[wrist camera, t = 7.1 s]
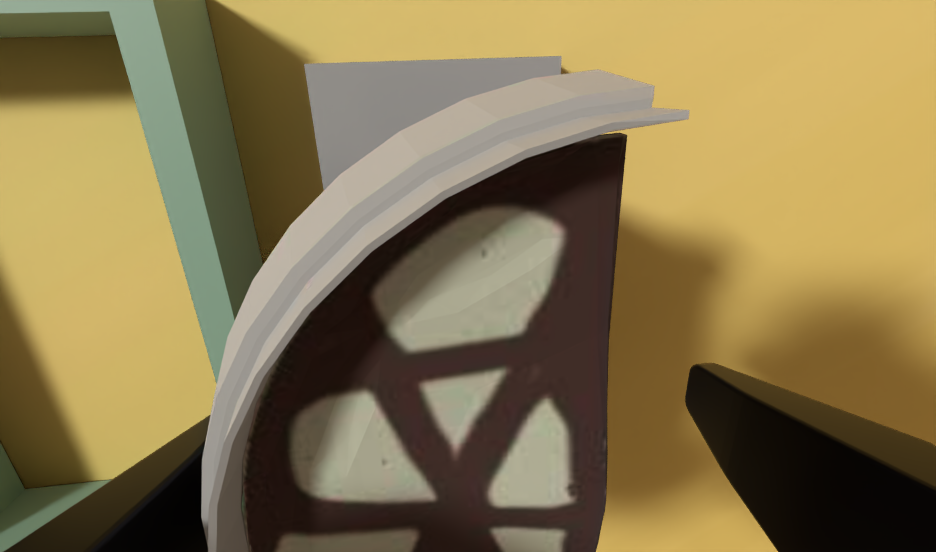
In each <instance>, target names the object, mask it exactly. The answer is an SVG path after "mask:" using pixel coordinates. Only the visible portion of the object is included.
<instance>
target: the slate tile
mask: <svg viewBox="0 0 936 552" xmlns="http://www.w3.org/2000/svg"><path fill="white" fill-rule="evenodd" d="M304 67H305V74H306V80H307V87H308V93H309V100H310V106H311V112H312V119H313V125H314V132H315V138H316V144H317V151H318V157H319V164H320V170H321V176H322V183H323V189H324V190H325V189H326V188H327V187H328V186H329V185H330V184H331V183H332V182H333V181H334V180H335V179H336V178H337V177H338V176H339V175H340V174H341V173H343V172H344V171H345V170H347V169H348V168H350V167H351V166H352V165H354V164H355V163H356V162H358V161H359V160H361V159H362V158H363V157H365V156H366V155H368V154H369V153H370V152H372V151H373V150H374V149H376V148H377V147H379V146H380V145H381V144H383V143H384V142H385V141H387V140H388V139H390V138H391V137H392V136H394V135H395V134H396V133H398V132H399V131H401V130H403V129H405V128H407V127H409V126H411V125H413V124H415V123H417V122H419V121H421V120H423V119H425V118H427V117H429V116H431V115H433V114H435V113H437V112H439V111H441V110H443V109H445V108H447V107H449V106H451V105H453V104H455V103H458V102H460V101H462V100H464V99H466V98H469V97H473V96H476V95H479V94H482V93H486V92H489V91H492V90H496V89H499V88H502V87H506V86H509V85H512V84H515V83H519V82H522V81H525V80H529V79H532V78H537V77H545V76H553V75H560V74H561V56H549V57H516V58H482V59H449V60H416V61H383V62H350V63H317V64H304Z"/></svg>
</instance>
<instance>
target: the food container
mask: <svg viewBox="0 0 936 552" xmlns="http://www.w3.org/2000/svg"><path fill="white" fill-rule="evenodd" d="M653 96H654V86H653V85H650V84H646V83H643V82H639V81H636V80H633V79H629V78H626V77H622V76H619V75H615V74H612V73H608V72H605V71H602V70H591V71H583V72H576V73H568V74H560V75H553V76H545V77H537V78H532V79H529V80H525V81H522V82H519V83H515V84H512V85H509V86H506V87H502V88H499V89H496V90H492V91H489V92H486V93H482V94H479V95H476V96H473V97H469V98H466V99H464V100H462V101H460V102H458V103H455V104H453V105H451V106H449V107H447V108H445V109H443V110H441V111H439V112H437V113H435V114H433V115H431V116H429V117H427V118H425V119H423V120H421V121H419V122H417V123H415V124H413V125H411V126H409V127H407V128H405V129H403V130H401V131H399V132H398V133H396V134H395V135H394V136H392V137H391V138H390V139H388V140H387V141H385V142H384V143H383V144H381V145H380V146H379V147H377V148H376V149H374V150H373V151H372V152H370V153H369V154H368V155H366V156H365V157H363V158H362V159H361V160H359V161H358V162H356V163H355V164H354V165H352V166H351V167H350V168H348V169H347V170H345V171H344V172H343V173H341V174H340V175H339V176H338V177H337V178H336V179H335V180H334V181H333V182H332V183H331V184H330V185H329V186H328V187H327V188H326V189H325V190H324V191H323V192H322V193H321V194H320V195H319V196H318V197H317V198H316V199H315V201H314V202H313V203H312V204H311V205H310V206H309V207H308V208H307V209H306V210H305V211H304V212H303V213H302V214H301V215H300V216H299V217H298V218H297V219H296V220H295V221H294V222H293V223H292V224H291V225H290V226H289V228H288V229H287V231H286V232H285V234H284V235H283V237H282V238H281V240H280V241H279V242H278V244H277V245H276V247H275V248H274V250H273V251H272V253H271V254H270V256H269V257H268V259H267V260H266V262H265V263H264V264H263V266H262V267H261V269H260V270H259V272H258V273H257V275H256V276H255V278H254V279H253V281H252V283H251V285H250V287H249V290H248V292H247V294H246V296H245V299H244V301H243V303H242V305H241V308H240V310H239V312H238V314H237V317H236V319H235V321H234V324H233V326H232V328H231V330H230V333H229V335H228V337H227V341H226V346H225V350H224V355H223V359H222V364H221V368H220V372H219V377H218V381H217V386H216V390H215V395H214V400H213V405H212V411H211V416H210V421H209V426H208V431H207V436H206V442H205V447H204V452H203V457H202V502H201V518H202V523H203V527H204V532H205V536H206V541H207V545H208V552H596V549H597V545H598V541H599V535H600V530H601V525H602V520H603V515H604V512H605V504H606V486H607V388H608V349H609V331H610V319H611V308H612V296H613V285H614V273H615V261H616V250H617V238H618V227H619V216H620V205H621V195H622V184H623V174H624V163H625V152H626V142H627V135H625V134H622V133H614V134H603V133H607V132H612V131H618V130H624V129H630V128H636V127H643V126H649V125H655V124H661V123H667V122H674V121H680V120H686V119H688V118H689V110H679V109H664V108H651V107H652V102H653ZM600 134H603V135H600Z"/></svg>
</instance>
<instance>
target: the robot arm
mask: <svg viewBox="0 0 936 552" xmlns="http://www.w3.org/2000/svg"><path fill="white" fill-rule="evenodd" d="M685 402H686V406H687V409H688V411H689V413H690V415H691V416H692V418H693V420H694V422H695V423H696V425H697V427H698V429H699V431H700V432H701V434H702V436H703V438H704V439H705V441H706V443H707V445H708V446H709V448H710V450H711V452H712V453H713V455H714V457H715V459H716V461H717V462H718V464H719V466H720V467H721V469H722V471H723V472H724V474H725V476H726V477H727V479H728V480H729V482H730V483H731V485H732V486H733V488H734V489H735V491H736V492H737V493H738V495H739V496H740V498H741V499H742V501H743V502H744V503H745V505H746V506H747V508H748V509H749V511H750V512H751V513H752V515H753V516H754V518H755V519H756V521H757V522H758V524H759V525H760V526H761V528H762V529H763V531H764V532H765V534H766V535H767V536H768V538H769V539H770V541H771V542H772V544H773V545H774V546H775V548H776V549H777V551H778V552H936V447H935V445H933V444H932V443H929V442H927V441H924V440H921V439H919V438H916V437H913V436H910V435H908V434H905V433H902V432H900V431H897V430H894V429H892V428H889V427H886V426H883V425H881V424H878V423H875V422H873V421H870V420H867V419H864V418H862V417H859V416H856V415H854V414H851V413H848V412H845V411H843V410H840V409H837V408H835V407H832V406H829V405H827V404H824V403H821V402H818V401H816V400H813V399H810V398H808V397H805V396H802V395H799V394H797V393H794V392H791V391H789V390H786V389H783V388H780V387H778V386H775V385H772V384H770V383H767V382H764V381H762V380H759V379H756V378H753V377H751V376H748V375H745V374H743V373H740V372H737V371H734V370H732V369H729V368H726V367H724V366H721V365H718V364H715V363H703V364H695V365H693V366H692V367H691V369H690V372H689V378H688V384H687V390H686V396H685ZM210 416H211V415H209V416H208V417H206V418H205V419H203V420H202V421H200V422H199V423H197V424H196V425H194V426H193V427H191V428H190V429H188V430H187V431H185V432H183V433H182V434H180V435H179V436H177V437H176V438H174V439H173V440H171V441H170V442H168V443H167V444H165V445H164V446H162V447H161V448H159V449H158V450H156V451H155V452H153V453H152V454H150V455H149V456H147V457H146V458H144V459H143V460H141V461H140V462H138V463H137V464H135V465H134V466H132V467H131V468H129V469H128V470H126V471H124V472H123V473H121V474H120V475H118V476H117V477H115V478H114V479H112V480H111V481H109V482H108V483H106V484H105V485H103V486H102V487H100V488H99V489H97V490H96V491H94V492H93V493H91V494H90V495H88V496H87V497H85V498H84V499H82V500H81V501H79V502H78V503H76V504H75V505H73V506H72V507H70V508H69V509H67V510H66V511H64V512H62V513H61V514H59V515H58V516H56V517H55V518H53V519H52V520H50V521H49V522H47V523H46V524H44V525H43V526H41V527H40V528H38V529H37V530H35V531H34V532H32V533H31V534H29V535H28V536H26V537H25V538H23V539H22V540H20V541H19V542H17V543H16V544H14V545H13V546H11V547H10V548H8V549H7V550H5V551H3V552H208V545H207V541H206V536H205V532H204V527H203V523H202V518H201V502H202V457H203V452H204V447H205V442H206V436H207V431H208V426H209V421H210Z"/></svg>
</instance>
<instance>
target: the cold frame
mask: <svg viewBox="0 0 936 552" xmlns="http://www.w3.org/2000/svg"><path fill="white" fill-rule="evenodd" d="M95 35H116V37H117V40H118V44H119V47H120V51H121V54H122V58H123V61H124V64H125V68H126V71H127V75H128V78H129V82H130V85H131V89H132V92H133V96H134V99H135V103H136V106H137V110H138V113H139V116H140V120H141V123H142V127H143V130H144V134H145V137H146V141H147V144H148V148H149V151H150V155H151V158H152V161H153V165H154V168H155V172H156V175H157V179H158V182H159V186H160V189H161V193H162V196H163V200H164V203H165V206H166V210H167V213H168V217H169V220H170V224H171V227H172V231H173V234H174V238H175V241H176V245H177V248H178V251H179V255H180V258H181V262H182V265H183V269H184V272H185V276H186V279H187V283H188V286H189V290H190V293H191V296H192V300H193V303H194V307H195V310H196V314H197V317H198V321H199V324H200V328H201V331H202V335H203V338H204V341H205V345H206V348H207V352H208V355H209V359H210V362H211V366H212V369H213V373H214V376H215V380H216V383H217V381H218V377H219V372H220V368H221V364H222V359H223V355H224V350H225V346H226V341H227V337H228V335H229V333H230V330H231V328H232V326H233V324H234V321H235V319H236V317H237V314H238V312H239V310H240V308H241V305H242V303H243V301H244V299H245V296H246V294H247V292H248V290H249V287H250V285H251V283H252V281H253V279H254V278H255V276H256V275H257V273H258V272H259V270H260V269H261V267H262V266H263V263H262V258H261V253H260V249H259V244H258V240H257V235H256V231H255V226H254V221H253V217H252V212H251V208H250V203H249V199H248V194H247V190H246V185H245V180H244V176H243V171H242V167H241V162H240V158H239V153H238V148H237V144H236V139H235V135H234V130H233V126H232V121H231V116H230V112H229V107H228V103H227V98H226V94H225V89H224V84H223V80H222V75H221V71H220V66H219V62H218V57H217V52H216V48H215V43H214V39H213V34H212V30H211V25H210V20H209V16H208V11H207V7H206V2H205V0H0V38H10V37H53V36H95ZM109 481H111V480H104V481H95V482H86V483H77V484H68V485H59V486H49V487H40V488H31V489H25V488H24V486H23V484H22V482H21V481H20V479H19V477H18V475H17V473H16V471H15V469H14V467H13V465H12V464H11V462H10V460H9V458H8V456H7V454H6V452H5V450H4V448H3V446H2V445H1V443H0V552H3V551H5V550H7V549H8V548H10V547H11V546H13V545H14V544H16V543H17V542H19V541H20V540H22V539H23V538H25V537H26V536H28V535H29V534H31V533H32V532H34V531H35V530H37V529H38V528H40V527H41V526H43V525H44V524H46V523H47V522H49V521H50V520H52V519H53V518H55V517H56V516H58V515H59V514H61V513H62V512H64V511H66V510H67V509H69V508H70V507H72V506H73V505H75V504H76V503H78V502H79V501H81V500H82V499H84V498H85V497H87V496H88V495H90V494H91V493H93V492H94V491H96V490H97V489H99V488H100V487H102V486H103V485H105V484H106V483H108V482H109Z"/></svg>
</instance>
